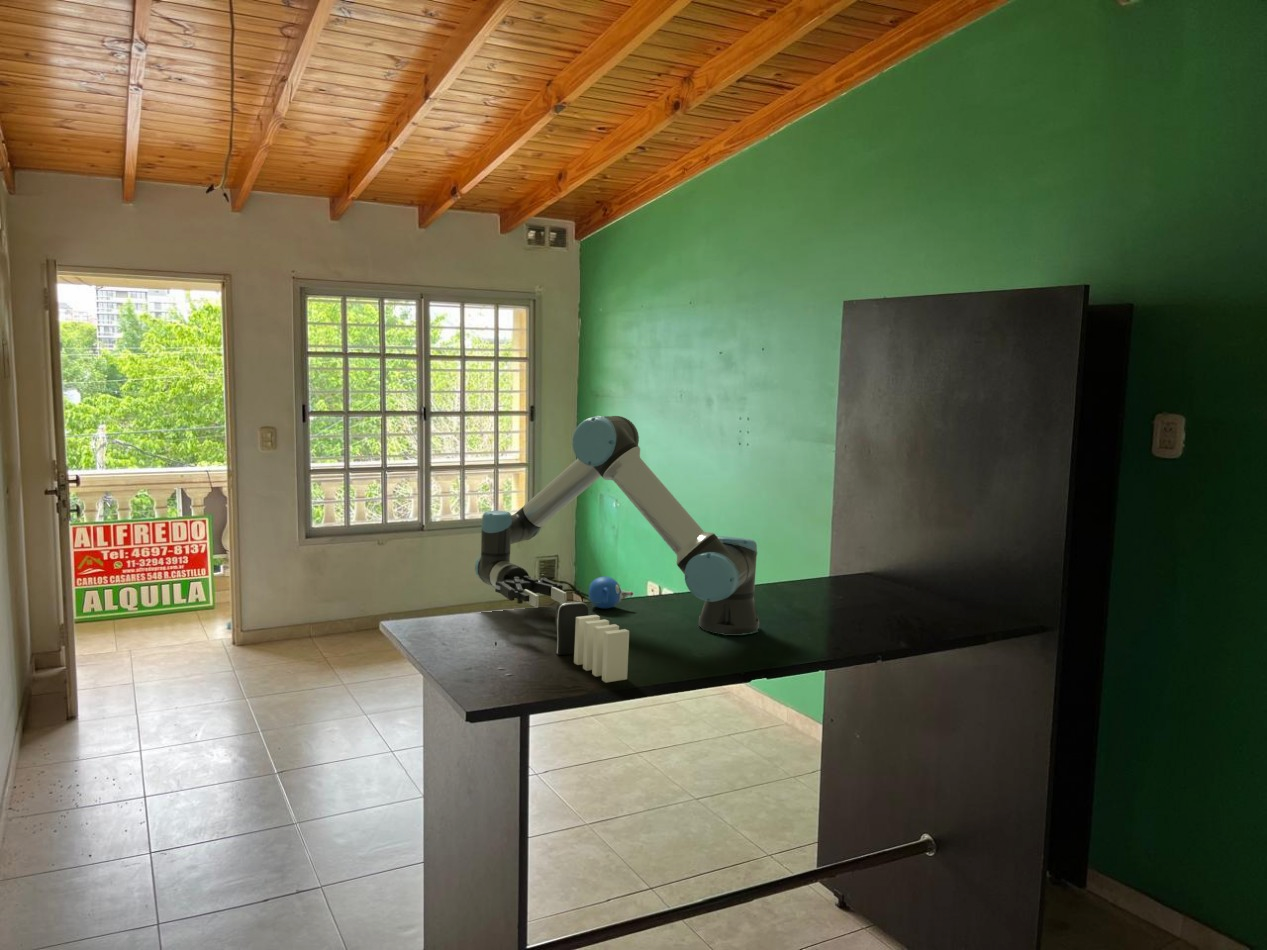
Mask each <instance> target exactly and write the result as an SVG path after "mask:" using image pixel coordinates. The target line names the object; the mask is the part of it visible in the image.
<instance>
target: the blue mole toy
mask: <svg viewBox="0 0 1267 950" xmlns="http://www.w3.org/2000/svg"><path fill="white" fill-rule="evenodd" d="M620 587H621V585H620V584H619V583H618V582H617V580H615V579H614V578H612V577H609V576H600V577H597V578H595V579H593V581H592V582H591V583H590V585H589V588H588V597H589V601H590V603H591V604H592V605H593V606H594V607H596V608H599V609H601V610H604V609H605V610H606V609H610V608H613V607H614V606H616V605H617V604H619V603H621V602H622V600H623V599H626V598H628V597H629V596H630V597H631V596H633V595H634V592H633V591H628V590H623V589H621V588H620ZM593 602H601V603H593Z"/></svg>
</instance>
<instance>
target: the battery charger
mask: <svg viewBox="0 0 1267 950" xmlns="http://www.w3.org/2000/svg"><path fill="white" fill-rule="evenodd" d="M581 616H589V608H588V605H587V604H586V603H584V602H582V601H579V600H578V601H577V600H575V601H572V600H571V601H566V602H561V603H559V602H558V604H557V605H556V608H555V617H554V618H555V623H554V624H555V626H556V645H555V653H556V654H557V655H558V656H562V655H563V656H565V655H574V649H575V624H576V617H581Z"/></svg>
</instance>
